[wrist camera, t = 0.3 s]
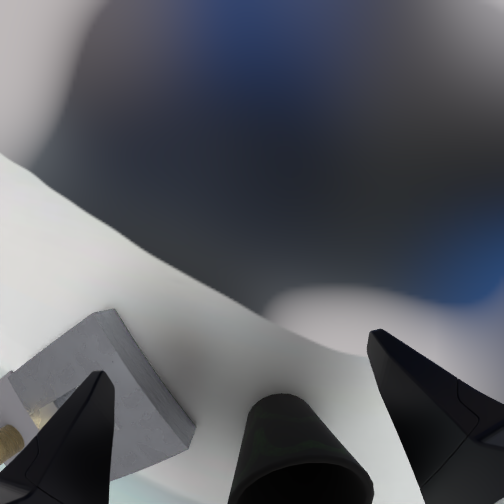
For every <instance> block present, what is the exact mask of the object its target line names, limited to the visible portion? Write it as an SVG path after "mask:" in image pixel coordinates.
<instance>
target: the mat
mask: <svg viewBox="0 0 504 504" xmlns="http://www.w3.org/2000/svg"><path fill="white" fill-rule="evenodd" d="M12 373H13V372H12V371H10V372H9V373H7V374H6V375H5V376H4V377H2V378H1V379H0V428H2V427H4V426H6V425H12V426H13V427H15V428H16V429H17V430H18V431H19V433H20V434H21V436H22V437H23V440H24V444H25V446H24V448H25V447H26V446H27V445H28V443H29V442H30V441H31V440H32V439H33V438H34V437H35V435H37V433H38V432H39V429H38V428H37V426H36V425H35V423H34V422H33V420H32V419H31V417H30V416H29V414H28V412H27V411H26V409H25V408H24V406H23V404H22V403H21V401H20V399H19V398H18V396H17V394H16V392H15V391H14V389H13V387H12V385H11V383H10V382H9V380H8V378H7V377H8V376H10V375H11V374H12ZM24 448H23V449H24ZM23 449H22V450H23ZM22 450H21V451H22ZM21 451H19V452H18V453H17V454H15V455H14V456H12V457H11V458H10V459H8V460H7V461H5V462H4V464H5V465H6V466H7V465H8V464H9V463H10V462H11V461H12V460H13V459H14V458H15V457H16V456H17V455H18V454H19V453H20V452H21Z"/></svg>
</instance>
